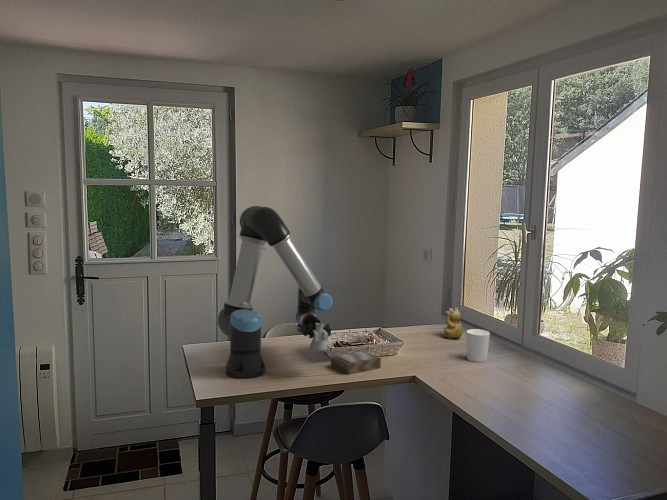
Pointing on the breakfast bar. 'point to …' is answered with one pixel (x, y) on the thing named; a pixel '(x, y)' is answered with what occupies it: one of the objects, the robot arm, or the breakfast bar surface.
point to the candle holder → (477, 345)
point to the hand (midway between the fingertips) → (322, 337)
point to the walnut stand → (355, 362)
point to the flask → (319, 339)
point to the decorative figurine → (453, 324)
